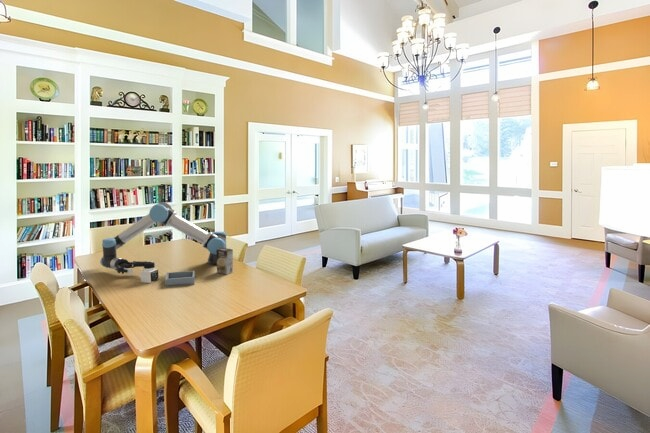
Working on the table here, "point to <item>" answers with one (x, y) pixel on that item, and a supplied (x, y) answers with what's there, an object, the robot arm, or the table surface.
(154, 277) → the medicine bottle
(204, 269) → the table surface
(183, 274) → the tote
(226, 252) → the coffee box
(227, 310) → the table surface
